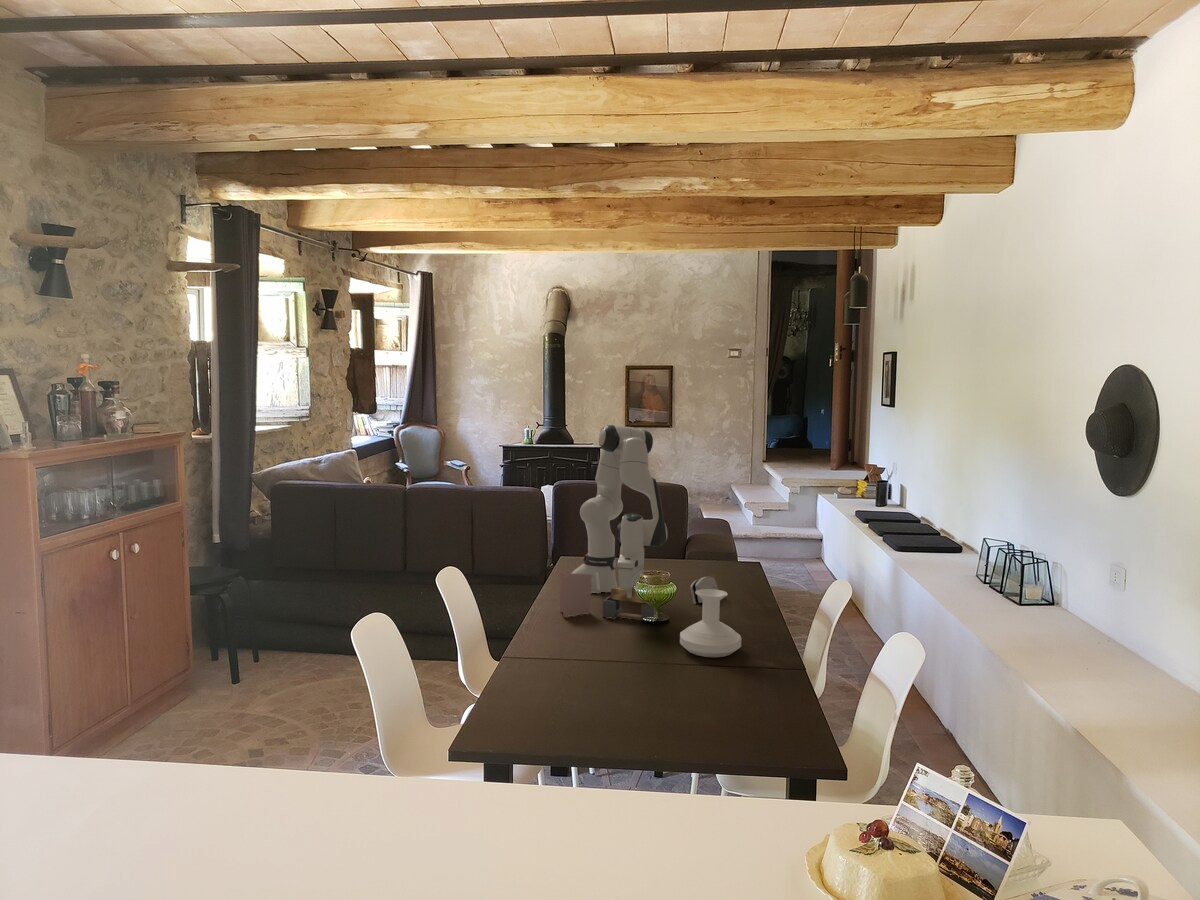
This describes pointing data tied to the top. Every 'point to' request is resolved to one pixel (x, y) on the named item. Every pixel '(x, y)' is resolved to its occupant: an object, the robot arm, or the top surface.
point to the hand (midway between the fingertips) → (631, 595)
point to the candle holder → (710, 629)
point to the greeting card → (575, 593)
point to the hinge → (702, 587)
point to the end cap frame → (613, 610)
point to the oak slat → (624, 595)
